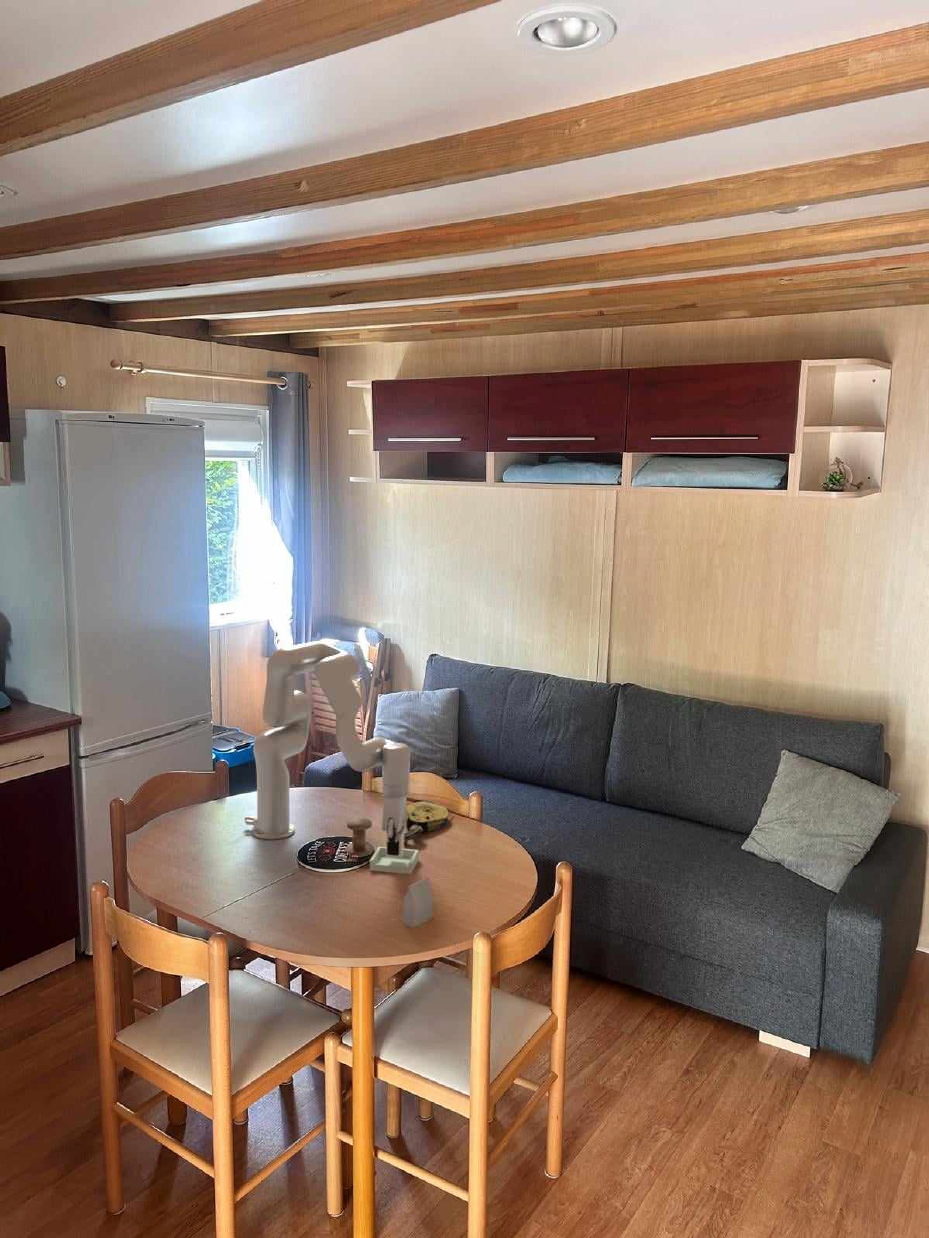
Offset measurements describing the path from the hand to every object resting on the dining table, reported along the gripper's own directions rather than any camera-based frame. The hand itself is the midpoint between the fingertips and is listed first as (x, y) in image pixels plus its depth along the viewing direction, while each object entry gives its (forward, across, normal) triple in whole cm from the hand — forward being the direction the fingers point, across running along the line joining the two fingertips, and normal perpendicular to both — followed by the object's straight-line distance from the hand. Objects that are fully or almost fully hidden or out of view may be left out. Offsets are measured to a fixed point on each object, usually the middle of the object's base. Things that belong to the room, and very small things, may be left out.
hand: (394, 850), depth 263 cm
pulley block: (+5, -29, +1) cm, 29 cm away
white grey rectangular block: (+1, 0, 0) cm, 1 cm away
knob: (+4, -6, -12) cm, 14 cm away
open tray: (+4, 0, 0) cm, 4 cm away
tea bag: (+5, +30, +13) cm, 33 cm away
